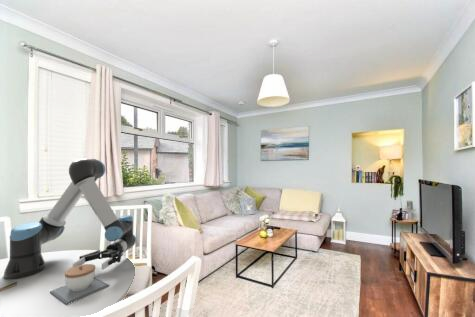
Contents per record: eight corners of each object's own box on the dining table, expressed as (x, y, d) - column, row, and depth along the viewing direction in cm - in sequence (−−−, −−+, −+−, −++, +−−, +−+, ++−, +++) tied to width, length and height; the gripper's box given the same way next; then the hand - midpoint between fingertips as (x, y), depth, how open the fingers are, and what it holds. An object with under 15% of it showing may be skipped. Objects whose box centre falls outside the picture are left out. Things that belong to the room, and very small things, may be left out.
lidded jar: (79, 295, 90) (80, 272, 91) (57, 293, 92) (58, 270, 93) (100, 282, 101) (101, 261, 101) (80, 280, 103) (81, 259, 103)
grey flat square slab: (49, 292, 94) (49, 291, 94) (91, 276, 108) (91, 275, 108) (66, 305, 85) (66, 303, 85) (109, 286, 99) (109, 284, 99)
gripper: (138, 256, 121) (114, 275, 100) (94, 255, 123) (61, 274, 101) (138, 242, 121) (114, 258, 100) (94, 241, 123) (61, 257, 102)
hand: (87, 266), depth 101 cm, fingers open, 13 cm apart
